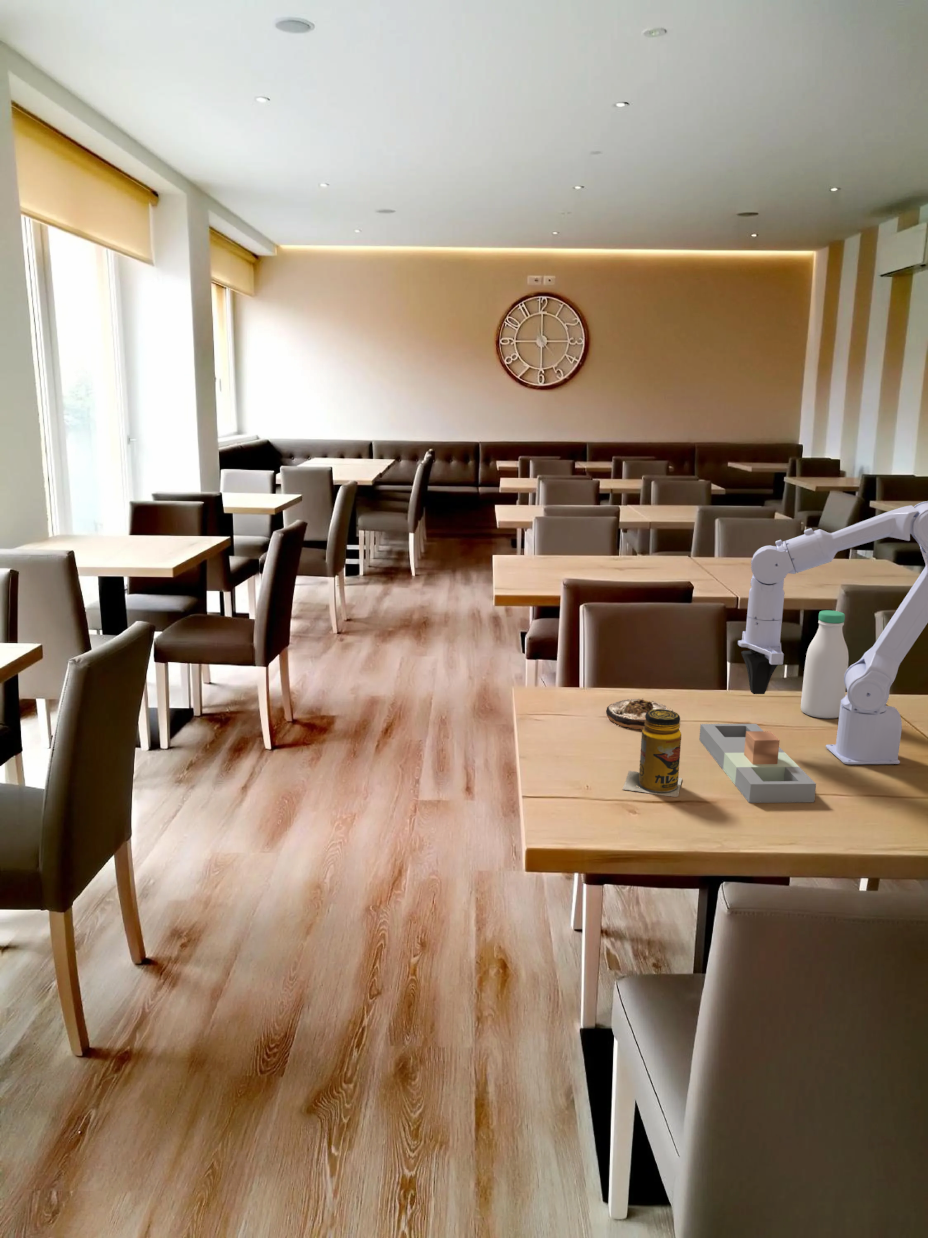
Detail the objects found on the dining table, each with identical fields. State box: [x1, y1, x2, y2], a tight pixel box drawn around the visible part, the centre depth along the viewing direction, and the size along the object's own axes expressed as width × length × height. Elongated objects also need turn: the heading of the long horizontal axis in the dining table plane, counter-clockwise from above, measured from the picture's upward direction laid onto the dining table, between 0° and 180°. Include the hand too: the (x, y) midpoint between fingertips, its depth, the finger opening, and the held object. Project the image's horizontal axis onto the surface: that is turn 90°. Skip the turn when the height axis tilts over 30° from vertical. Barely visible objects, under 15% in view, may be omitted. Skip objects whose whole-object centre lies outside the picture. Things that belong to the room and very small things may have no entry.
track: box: [699, 723, 817, 804], centre depth 154 cm, size 10×26×3 cm, turn 3°
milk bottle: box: [800, 609, 849, 720], centre depth 179 cm, size 8×8×20 cm
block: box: [744, 730, 780, 764], centre depth 150 cm, size 4×4×4 cm
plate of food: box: [605, 698, 674, 731], centre depth 176 cm, size 15×15×4 cm
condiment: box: [622, 708, 683, 798], centre depth 146 cm, size 7×8×12 cm
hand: (757, 693), depth 163 cm, fingers closed
